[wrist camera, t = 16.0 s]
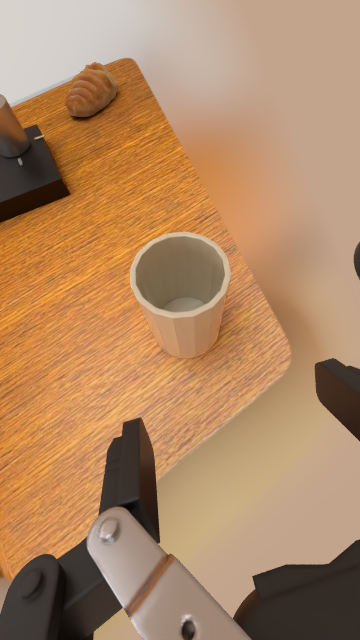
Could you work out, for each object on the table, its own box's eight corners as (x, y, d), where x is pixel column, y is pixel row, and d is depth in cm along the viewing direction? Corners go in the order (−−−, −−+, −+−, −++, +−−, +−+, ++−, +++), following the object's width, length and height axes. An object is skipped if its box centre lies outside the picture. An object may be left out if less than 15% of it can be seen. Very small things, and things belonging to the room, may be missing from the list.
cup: (199, 287, 29) (199, 218, 20) (232, 339, 26) (250, 288, 17) (142, 314, 28) (115, 256, 19) (170, 370, 25) (154, 335, 16)
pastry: (95, 125, 41) (85, 96, 38) (59, 118, 43) (47, 90, 39) (122, 91, 45) (115, 62, 41) (88, 86, 46) (79, 57, 43)
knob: (33, 151, 36) (6, 104, 31) (1, 161, 35) (-32, 116, 30) (27, 132, 37) (0, 86, 32) (-3, 142, 37) (-35, 97, 32)
